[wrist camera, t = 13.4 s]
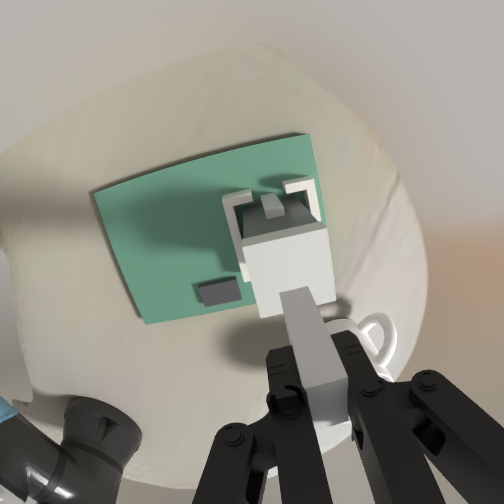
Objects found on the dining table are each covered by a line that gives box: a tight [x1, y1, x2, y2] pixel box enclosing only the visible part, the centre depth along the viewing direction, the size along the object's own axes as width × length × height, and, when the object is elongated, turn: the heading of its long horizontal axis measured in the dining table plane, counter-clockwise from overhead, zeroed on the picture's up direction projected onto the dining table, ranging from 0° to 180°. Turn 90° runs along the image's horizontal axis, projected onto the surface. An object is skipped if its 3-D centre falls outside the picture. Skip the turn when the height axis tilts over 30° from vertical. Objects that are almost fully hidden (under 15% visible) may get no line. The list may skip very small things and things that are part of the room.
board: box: [94, 134, 327, 325], centre depth 29 cm, size 22×16×3 cm
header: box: [222, 176, 321, 282], centre depth 28 cm, size 8×8×2 cm
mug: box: [325, 312, 397, 424], centre depth 31 cm, size 12×8×10 cm
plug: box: [242, 192, 336, 318], centre depth 23 cm, size 5×6×11 cm
